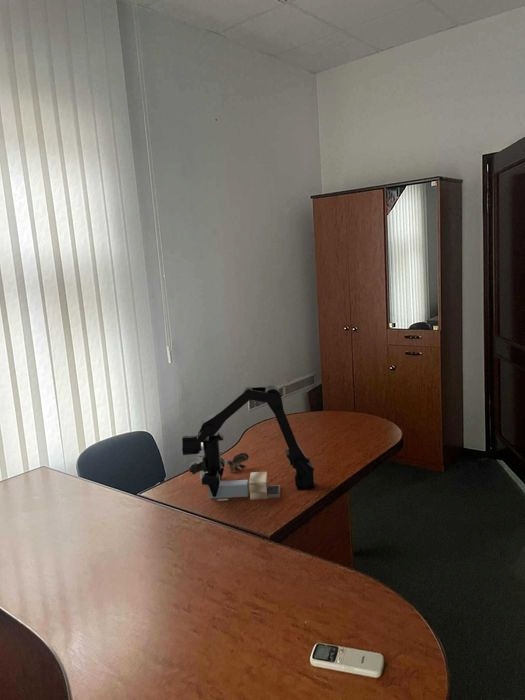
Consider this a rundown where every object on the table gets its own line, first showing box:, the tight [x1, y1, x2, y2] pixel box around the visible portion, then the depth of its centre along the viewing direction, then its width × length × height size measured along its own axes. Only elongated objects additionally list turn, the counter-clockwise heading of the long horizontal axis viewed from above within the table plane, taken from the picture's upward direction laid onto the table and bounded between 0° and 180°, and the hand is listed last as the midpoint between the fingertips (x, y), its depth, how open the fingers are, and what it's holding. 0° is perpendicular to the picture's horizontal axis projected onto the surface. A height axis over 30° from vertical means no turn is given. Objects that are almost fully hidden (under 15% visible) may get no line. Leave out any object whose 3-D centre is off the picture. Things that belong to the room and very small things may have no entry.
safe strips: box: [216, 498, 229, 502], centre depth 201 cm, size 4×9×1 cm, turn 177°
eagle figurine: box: [225, 452, 249, 473], centre depth 225 cm, size 8×7×9 cm
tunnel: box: [248, 471, 269, 500], centre depth 200 cm, size 6×10×6 cm, turn 177°
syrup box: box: [197, 442, 208, 483], centre depth 216 cm, size 6×6×14 cm
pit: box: [267, 484, 281, 499], centre depth 200 cm, size 5×9×1 cm, turn 177°
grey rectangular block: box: [208, 479, 250, 499], centre depth 201 cm, size 14×4×5 cm, turn 87°
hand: (215, 493), depth 201 cm, fingers open, 6 cm apart
